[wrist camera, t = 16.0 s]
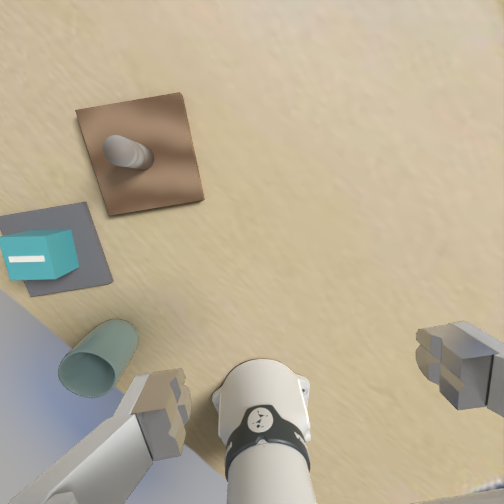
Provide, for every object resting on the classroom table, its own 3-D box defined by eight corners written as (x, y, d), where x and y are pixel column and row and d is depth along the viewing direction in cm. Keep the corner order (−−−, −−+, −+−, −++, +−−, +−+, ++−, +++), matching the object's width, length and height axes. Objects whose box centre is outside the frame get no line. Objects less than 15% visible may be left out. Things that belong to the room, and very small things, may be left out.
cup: (132, 358, 44) (101, 406, 34) (91, 338, 43) (47, 383, 33) (152, 326, 42) (126, 367, 33) (111, 304, 41) (71, 341, 31)
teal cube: (71, 229, 36) (43, 236, 31) (79, 267, 38) (54, 279, 33) (29, 230, 36) (-5, 237, 31) (39, 268, 38) (9, 281, 33)
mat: (113, 281, 40) (110, 283, 39) (35, 294, 40) (30, 296, 39) (86, 201, 36) (82, 202, 35) (1, 216, 36) (-6, 217, 36)
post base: (204, 199, 37) (194, 203, 29) (114, 214, 37) (78, 223, 29) (182, 96, 33) (163, 67, 25) (82, 113, 33) (30, 90, 25)
